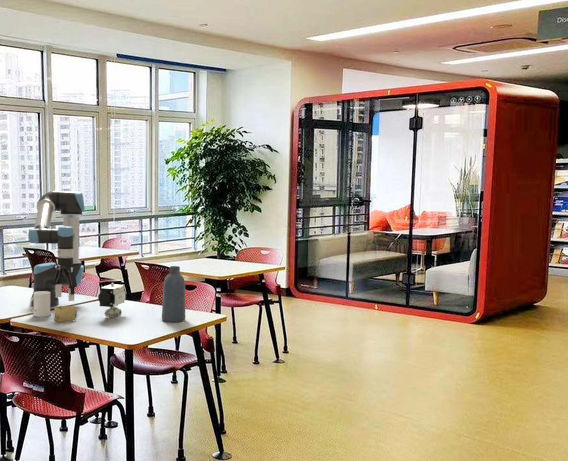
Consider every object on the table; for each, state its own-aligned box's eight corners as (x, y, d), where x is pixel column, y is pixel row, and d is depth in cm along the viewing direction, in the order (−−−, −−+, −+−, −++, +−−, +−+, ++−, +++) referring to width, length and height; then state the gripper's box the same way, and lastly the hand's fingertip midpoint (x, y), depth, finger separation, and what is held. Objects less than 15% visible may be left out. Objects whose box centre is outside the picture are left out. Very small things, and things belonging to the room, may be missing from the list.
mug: (34, 318, 315) (34, 295, 314) (24, 316, 319) (24, 293, 318) (54, 315, 324) (54, 292, 324) (43, 312, 329) (44, 290, 328)
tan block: (54, 320, 312) (54, 307, 312) (72, 318, 319) (72, 304, 319) (59, 322, 308) (60, 309, 308) (77, 320, 315) (78, 306, 314)
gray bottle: (159, 318, 326) (161, 265, 324) (182, 317, 331) (184, 265, 328) (163, 323, 315) (165, 268, 313) (187, 322, 319) (188, 268, 317)
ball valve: (112, 320, 317) (113, 286, 315) (97, 319, 318) (97, 285, 317) (128, 313, 334) (128, 281, 333) (113, 312, 336) (114, 280, 335)
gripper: (46, 255, 317) (46, 296, 318) (70, 259, 299) (69, 303, 301) (60, 254, 322) (60, 294, 323) (84, 259, 305) (84, 301, 306)
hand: (64, 299), depth 312 cm, fingers open, 13 cm apart
